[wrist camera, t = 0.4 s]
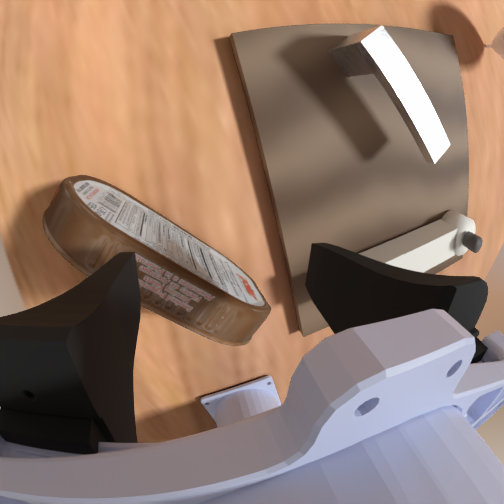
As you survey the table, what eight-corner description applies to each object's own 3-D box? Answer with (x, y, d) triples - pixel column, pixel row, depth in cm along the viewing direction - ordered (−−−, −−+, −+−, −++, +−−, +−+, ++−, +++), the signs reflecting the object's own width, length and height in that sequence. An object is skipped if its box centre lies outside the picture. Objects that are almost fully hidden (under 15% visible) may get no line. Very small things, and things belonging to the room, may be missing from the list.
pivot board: (456, 254, 30) (488, 276, 25) (299, 330, 28) (324, 371, 23) (445, 36, 18) (489, 34, 13) (229, 37, 16) (250, 9, 11)
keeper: (415, 136, 21) (450, 144, 17) (399, 154, 21) (434, 164, 18) (348, 35, 16) (382, 25, 13) (327, 51, 17) (360, 41, 13)
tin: (67, 195, 17) (14, 243, 10) (88, 156, 17) (37, 183, 10) (232, 295, 24) (260, 369, 17) (256, 265, 24) (296, 334, 16)
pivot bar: (460, 206, 25) (476, 214, 23) (457, 239, 27) (473, 248, 25) (315, 265, 23) (329, 281, 21) (320, 303, 25) (333, 320, 23)
